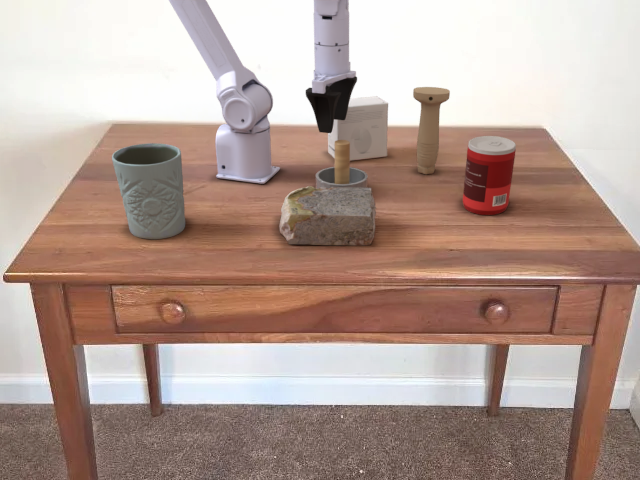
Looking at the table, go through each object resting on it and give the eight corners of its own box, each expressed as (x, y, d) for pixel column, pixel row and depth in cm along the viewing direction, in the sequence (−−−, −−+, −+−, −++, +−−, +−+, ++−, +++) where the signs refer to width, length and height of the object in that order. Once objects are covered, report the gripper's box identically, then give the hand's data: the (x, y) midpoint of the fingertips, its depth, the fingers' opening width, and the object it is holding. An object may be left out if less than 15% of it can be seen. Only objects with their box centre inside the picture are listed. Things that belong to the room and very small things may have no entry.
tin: (308, 197, 128) (308, 181, 126) (325, 179, 135) (325, 164, 134) (358, 204, 126) (359, 187, 124) (373, 185, 133) (373, 169, 132)
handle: (442, 177, 137) (449, 95, 129) (408, 175, 138) (412, 93, 130) (443, 168, 141) (450, 88, 133) (409, 166, 142) (414, 86, 134)
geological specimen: (380, 215, 110) (278, 210, 108) (376, 251, 113) (277, 248, 112) (374, 186, 119) (280, 181, 117) (371, 220, 122) (279, 217, 121)
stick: (340, 193, 129) (340, 145, 124) (331, 188, 130) (331, 141, 126) (352, 190, 130) (352, 142, 125) (343, 185, 132) (344, 138, 127)
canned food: (511, 201, 128) (519, 138, 122) (503, 219, 122) (511, 153, 116) (467, 195, 130) (473, 133, 124) (457, 212, 124) (463, 147, 118)
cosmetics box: (375, 146, 151) (377, 94, 145) (387, 157, 146) (389, 103, 140) (326, 152, 148) (326, 98, 142) (337, 162, 143) (337, 107, 137)
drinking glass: (156, 247, 111) (145, 169, 104) (109, 231, 115) (96, 155, 109) (203, 223, 118) (195, 150, 112) (156, 209, 123) (146, 138, 116)
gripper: (341, 53, 114) (341, 140, 122) (367, 35, 126) (366, 116, 133) (298, 50, 116) (301, 136, 123) (328, 33, 128) (329, 112, 135)
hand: (332, 125), depth 128 cm, fingers open, 7 cm apart
